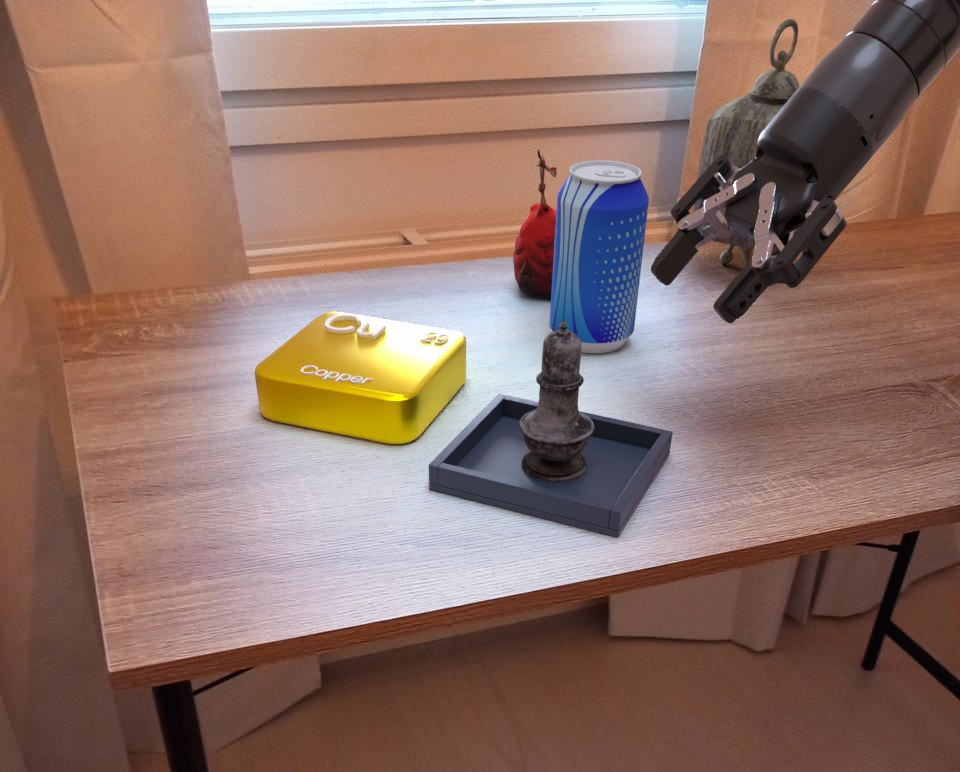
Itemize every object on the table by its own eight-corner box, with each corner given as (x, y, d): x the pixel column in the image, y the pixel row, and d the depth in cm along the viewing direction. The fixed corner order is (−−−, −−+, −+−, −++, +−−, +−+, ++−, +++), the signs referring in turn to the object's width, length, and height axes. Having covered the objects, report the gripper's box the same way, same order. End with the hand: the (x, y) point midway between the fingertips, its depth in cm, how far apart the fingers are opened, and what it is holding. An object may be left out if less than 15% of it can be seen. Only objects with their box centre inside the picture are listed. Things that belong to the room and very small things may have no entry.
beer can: (591, 364, 98) (607, 189, 88) (531, 336, 103) (539, 167, 93) (649, 341, 102) (671, 172, 92) (589, 315, 107) (603, 152, 97)
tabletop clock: (754, 295, 112) (804, 34, 96) (679, 277, 116) (714, 24, 100) (799, 257, 122) (851, 14, 106) (728, 242, 125) (768, 5, 109)
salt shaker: (505, 454, 83) (510, 311, 76) (569, 441, 85) (580, 300, 77) (537, 489, 79) (545, 341, 71) (603, 474, 81) (619, 329, 73)
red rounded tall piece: (590, 290, 113) (603, 144, 103) (551, 308, 108) (561, 158, 99) (536, 273, 116) (543, 130, 107) (497, 290, 112) (500, 143, 103)
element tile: (251, 418, 89) (243, 366, 86) (329, 351, 99) (325, 303, 96) (410, 450, 85) (408, 397, 82) (472, 376, 96) (473, 326, 93)
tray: (669, 454, 85) (673, 431, 83) (617, 537, 75) (620, 512, 74) (497, 416, 90) (498, 393, 88) (428, 489, 80) (428, 464, 79)
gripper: (754, 66, 78) (614, 239, 82) (886, 105, 69) (720, 300, 72) (795, 134, 84) (661, 294, 87) (923, 179, 74) (766, 357, 77)
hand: (688, 296), depth 79 cm, fingers open, 8 cm apart
